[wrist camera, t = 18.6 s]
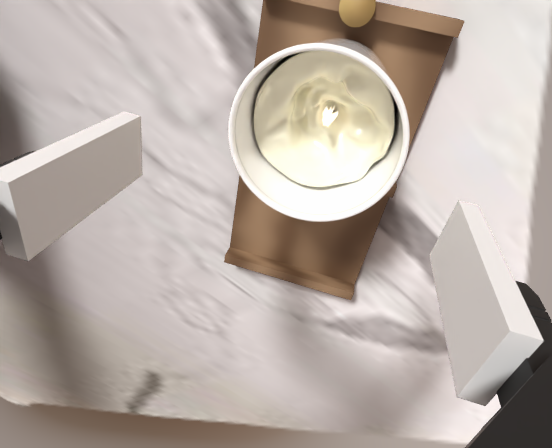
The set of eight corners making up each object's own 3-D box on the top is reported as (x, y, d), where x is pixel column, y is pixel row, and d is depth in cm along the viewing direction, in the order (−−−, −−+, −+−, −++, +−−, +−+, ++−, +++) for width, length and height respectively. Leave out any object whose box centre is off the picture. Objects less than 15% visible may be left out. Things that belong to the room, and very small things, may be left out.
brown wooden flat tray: (232, 248, 42) (222, 264, 40) (271, -33, 27) (260, -36, 25) (352, 284, 41) (350, 303, 38) (462, 7, 26) (471, 9, 23)
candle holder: (428, 85, 28) (454, 134, 18) (341, 174, 33) (324, 250, 23) (328, -5, 26) (297, -6, 17) (254, 103, 32) (197, 152, 22)
